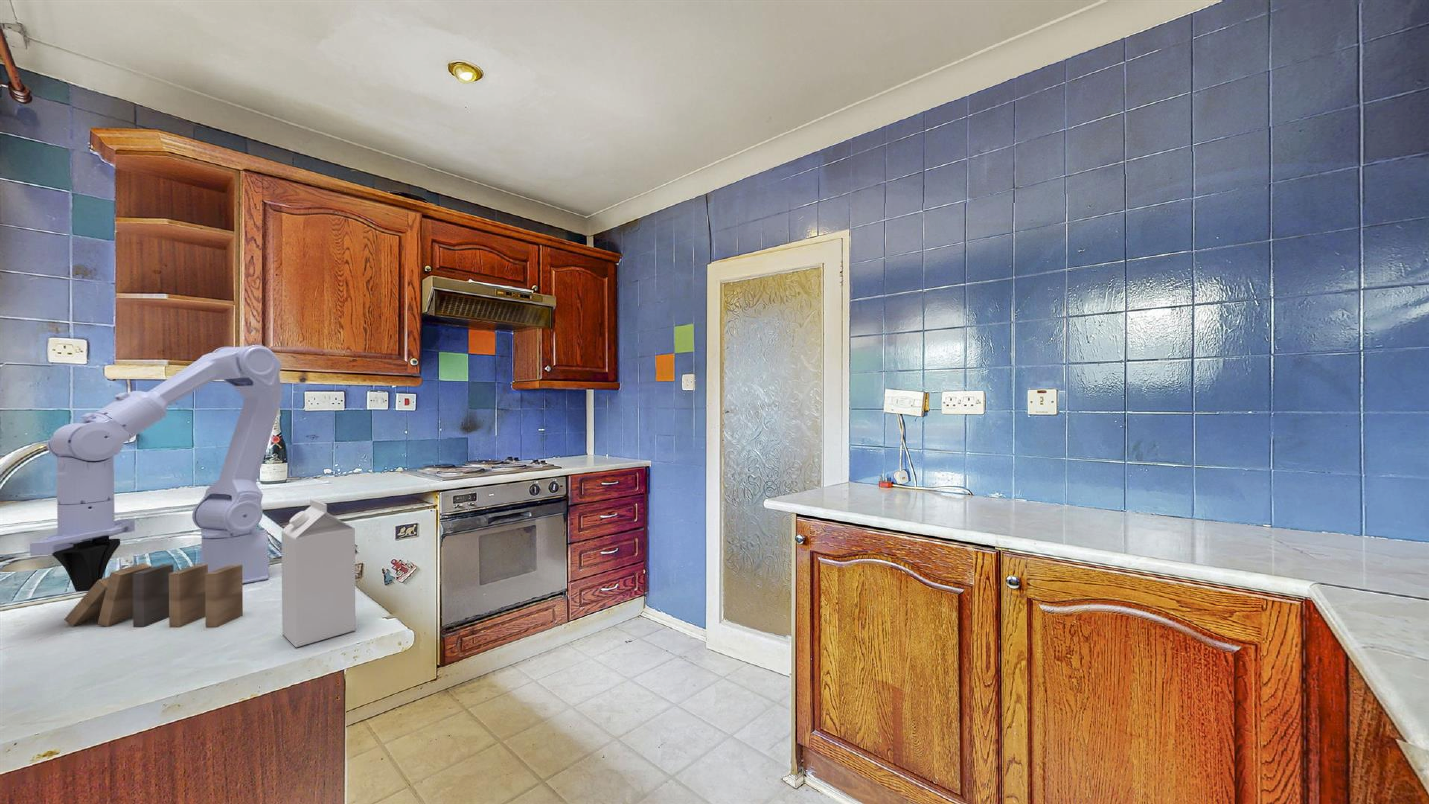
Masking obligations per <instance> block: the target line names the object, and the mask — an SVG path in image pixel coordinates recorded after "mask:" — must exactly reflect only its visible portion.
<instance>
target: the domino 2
mask: <svg viewBox="0 0 1429 804" xmlns="http://www.w3.org/2000/svg"><path fill="white" fill-rule="evenodd" d="M149 568H153V565H149V564H145V563H139V564H135V565H132V566H128V567H126V568H125V567H124V568H121V569H118V570H114V571H111V572H110V573H109V576H108V577H109V581H108V584H107V588H106V592H105V596H104V600H103V604H102V608H101V612H100V616H99V617H98V619H97V620H98V621H97V625H99V626H103V627H107V628H108V627H111V626H115V625H116V624H120V623H122V622H124V621H127V620H130V619H133V573H136V572H139V571H143V570H146V569H149Z"/></svg>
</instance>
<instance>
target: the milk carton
mask: <svg viewBox="0 0 1429 804" xmlns="http://www.w3.org/2000/svg"><path fill="white" fill-rule="evenodd" d="M309 501H310V503H309V505H310V506H308V507H307V508H306V509H305V510H300V511H299V512H297V513H295V514H294V515H293V516H292V517H291V518H290V519H289V523H288V524H287V525H286V526H285V527H284V528H283V529H282V530H281V609H282V610H281V612H282V613H281V614H282V616H281V622H282V623H281V624H282V625H281V626H282V629H281V630H282V636H284V637H285V638H286V640H288V641H289V642H290V643H291V644H292V646H294V648H298V647H301V646H306V645H309V644H314V643H316V642H319V641H323V640H327V639H329V638H334V637H337V636H340V635H343V634H347V633H350V632H354V631H356V629H357V628H356V624H357V623H356V535H355V533H356V531H355V530H356V529H355V528H354V527H353V526H351V525H350V524H348V523H347V522H344V521H342V519H341V520H340V519H339V518H338V517H335V516H334V515H332V514H330V513H329V512H328V506H327V505H328V504H327V503H324V502H321V501H318V500H315V499H313V498H310V499H309Z"/></svg>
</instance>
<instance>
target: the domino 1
mask: <svg viewBox="0 0 1429 804" xmlns="http://www.w3.org/2000/svg"><path fill="white" fill-rule="evenodd" d="M109 577H110V576H106V577H103V578H102V579H99V580H98V581H97V582H96V583H95V584H94V585H93V587H92V588H91V589H90V590H89V591H86V594H85V595H84V596H83V597H82V598H81V599H80V600H79V602H78V603H77V604H76V605H75V606H74V608H73V609H71V611H70V612H69V613H68V614H67V616H66V617H65V618H63V619H64V621H65V622H67V624H68V625H69V626H71V627H76V626H77V625H82V624H84V623H87V622H90V621H92V620H95V619H99V616H100V612H101V608H102V604H103V600H104V596H105V592H106V588H107V584H108V581H109Z"/></svg>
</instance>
